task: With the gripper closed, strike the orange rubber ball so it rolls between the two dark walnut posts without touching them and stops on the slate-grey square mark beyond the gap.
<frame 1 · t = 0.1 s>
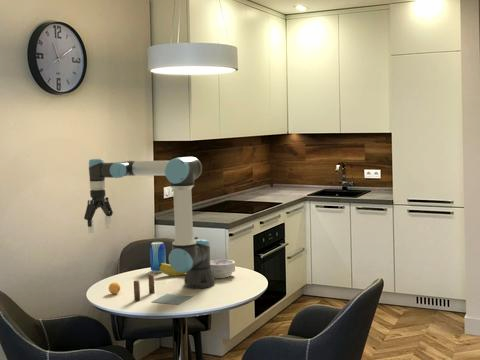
hand: (99, 230, 307), 28 cm above the table, tool pointing down, fingers open, 13 cm apart
beer can: (158, 271, 334), on the table
post 2: (151, 293, 289), on the table
paper bowls: (221, 277, 318), on the table
banana: (180, 275, 324), on the table
post 1: (137, 300, 277), on the table
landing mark: (172, 299, 277), on the table
ball: (114, 288, 289), on the table
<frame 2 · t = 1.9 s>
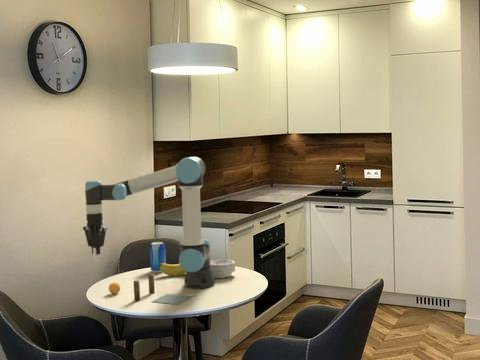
hand: (96, 260, 292), 16 cm above the table, tool pointing down, fingers closed
nothing on the table moved.
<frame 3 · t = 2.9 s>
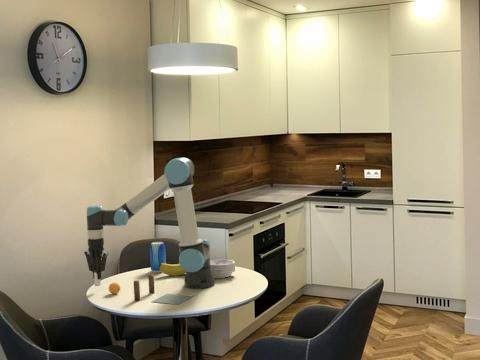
hand: (97, 285, 293), 3 cm above the table, tool pointing down, fingers closed
nothing on the table moved.
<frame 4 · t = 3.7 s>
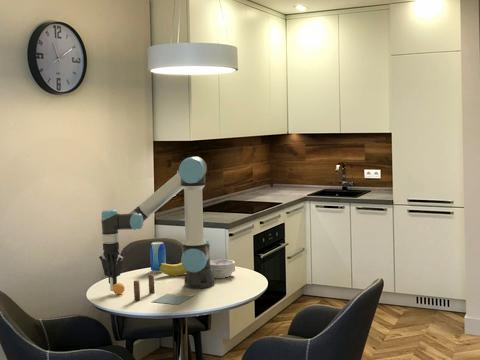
hand: (113, 290, 290), 2 cm above the table, tool pointing down, fingers closed
ball: (118, 288, 288), on the table, touching gripper
everything else where it was.
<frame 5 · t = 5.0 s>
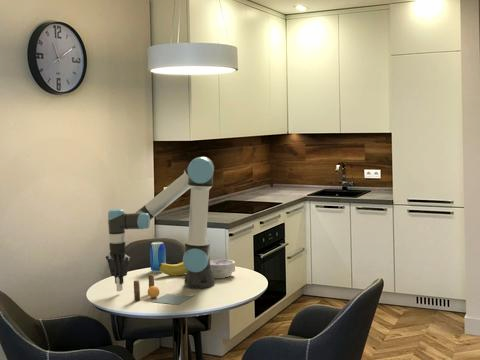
hand: (119, 290, 288), 2 cm above the table, tool pointing down, fingers closed
ball: (153, 291, 280), on the table
everything else where it was.
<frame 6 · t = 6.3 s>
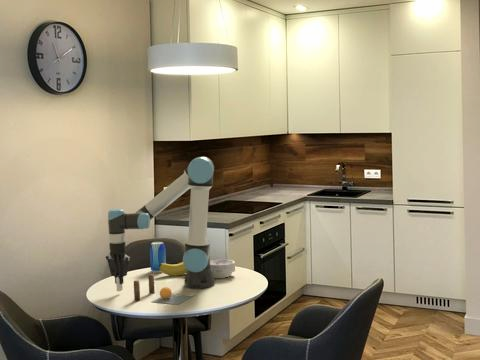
hand: (119, 290, 288), 2 cm above the table, tool pointing down, fingers closed
ball: (165, 293, 278), on the table
everything else where it was.
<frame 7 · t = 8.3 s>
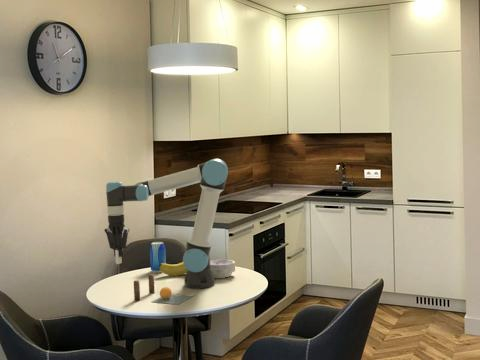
hand: (118, 263, 287), 15 cm above the table, tool pointing down, fingers closed
nothing on the table moved.
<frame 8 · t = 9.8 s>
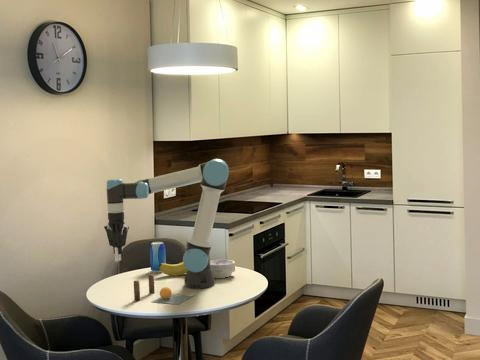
hand: (118, 260, 287), 16 cm above the table, tool pointing down, fingers closed
nothing on the table moved.
at the end: ball 3.3 cm from the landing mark (horizontally); ball never touched post 2; ball never touched post 1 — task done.
